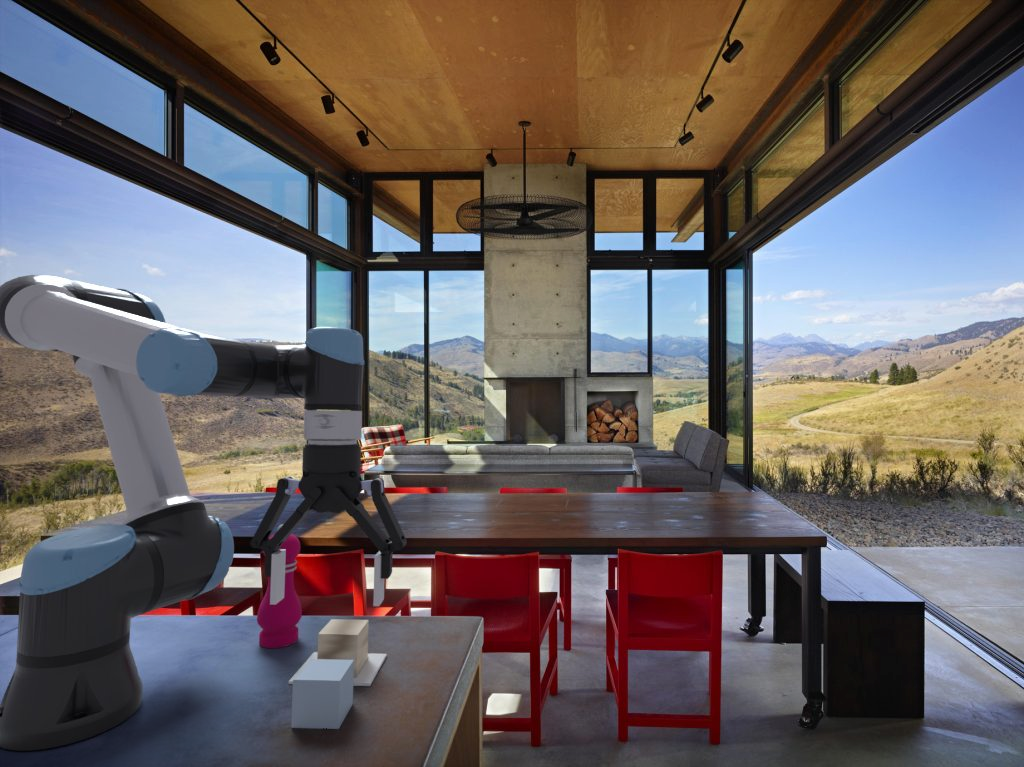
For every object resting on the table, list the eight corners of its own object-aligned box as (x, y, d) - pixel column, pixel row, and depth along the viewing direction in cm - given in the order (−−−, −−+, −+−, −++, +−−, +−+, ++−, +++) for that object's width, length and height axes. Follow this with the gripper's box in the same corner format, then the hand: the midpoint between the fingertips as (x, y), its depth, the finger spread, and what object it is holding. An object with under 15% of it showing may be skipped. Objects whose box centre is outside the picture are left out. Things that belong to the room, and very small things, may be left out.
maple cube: (316, 674, 84) (318, 633, 84) (330, 657, 90) (331, 619, 90) (356, 675, 84) (357, 634, 84) (367, 658, 90) (368, 620, 90)
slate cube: (291, 728, 71) (292, 679, 71) (309, 703, 77) (310, 658, 77) (338, 729, 71) (340, 680, 71) (352, 704, 77) (353, 659, 77)
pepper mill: (263, 653, 92) (268, 530, 93) (250, 639, 97) (254, 523, 98) (307, 642, 97) (311, 525, 98) (292, 629, 102) (296, 518, 103)
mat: (288, 684, 82) (288, 680, 82) (313, 654, 92) (314, 651, 92) (369, 686, 82) (370, 682, 82) (386, 656, 92) (386, 653, 92)
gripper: (226, 442, 72) (220, 610, 71) (419, 445, 72) (416, 613, 71) (254, 439, 80) (248, 591, 79) (428, 442, 79) (425, 594, 78)
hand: (327, 602), depth 75 cm, fingers open, 13 cm apart
